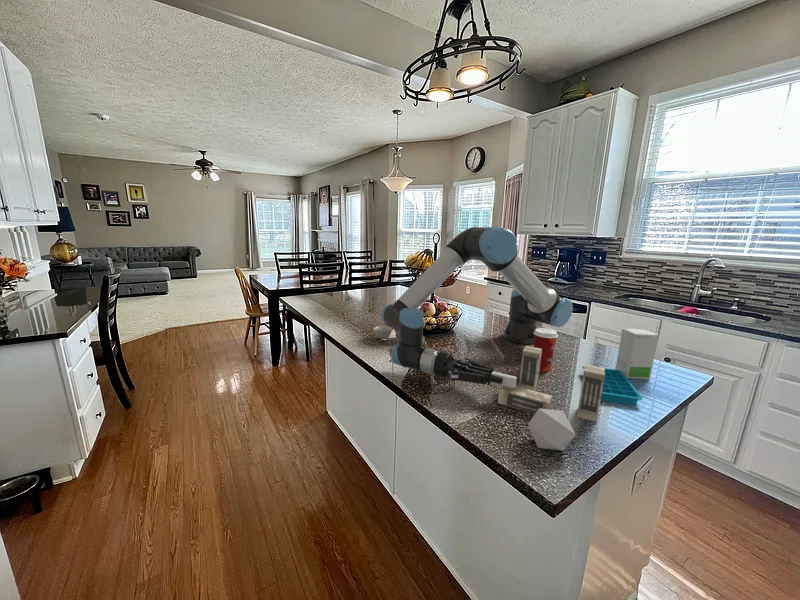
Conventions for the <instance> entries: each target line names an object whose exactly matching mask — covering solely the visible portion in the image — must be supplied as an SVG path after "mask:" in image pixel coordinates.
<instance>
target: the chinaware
mask: <svg viewBox="0 0 800 600" xmlns="http://www.w3.org/2000/svg"><path fill="white" fill-rule="evenodd" d="M423 321H424V324H423V329H424V328H425V326H426V320H425V318H424V317H423ZM372 329H373V331H374V334H375V336H376V337H377V338H378V339H379V338H380V339H386V338H387V339H388V338H390V337H391V335H392V334H391V333H392V331H394V332H395V335H394V336H395V337H396V339H397V340H398V339H399V333H398V332H397V331H395V330H394V329H393V328H391V327H389V326H387V325H385V326H384V325H376V327H372ZM380 339H379V340H380ZM387 339H386V340H387ZM425 339H426V338H425V336H424V335H423V337H422V345H423V344H425V348H428V344H427V342H426V341H425Z"/></svg>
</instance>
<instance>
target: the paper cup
mask: <svg viewBox="0 0 800 600" xmlns="http://www.w3.org/2000/svg"><path fill="white" fill-rule="evenodd" d="M558 337H559V335H558V333H557V331H556V330H554V329H552V328H545V327H538V328H537V329H535V332H534V344H533V347H535V348H540V349H542V352H541V360H540V369H539V373H540V372H541V373H549V372H551V368H552V363H553V358H554V355H555V354H554V353H555V347H556V342H557V338H558Z"/></svg>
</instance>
